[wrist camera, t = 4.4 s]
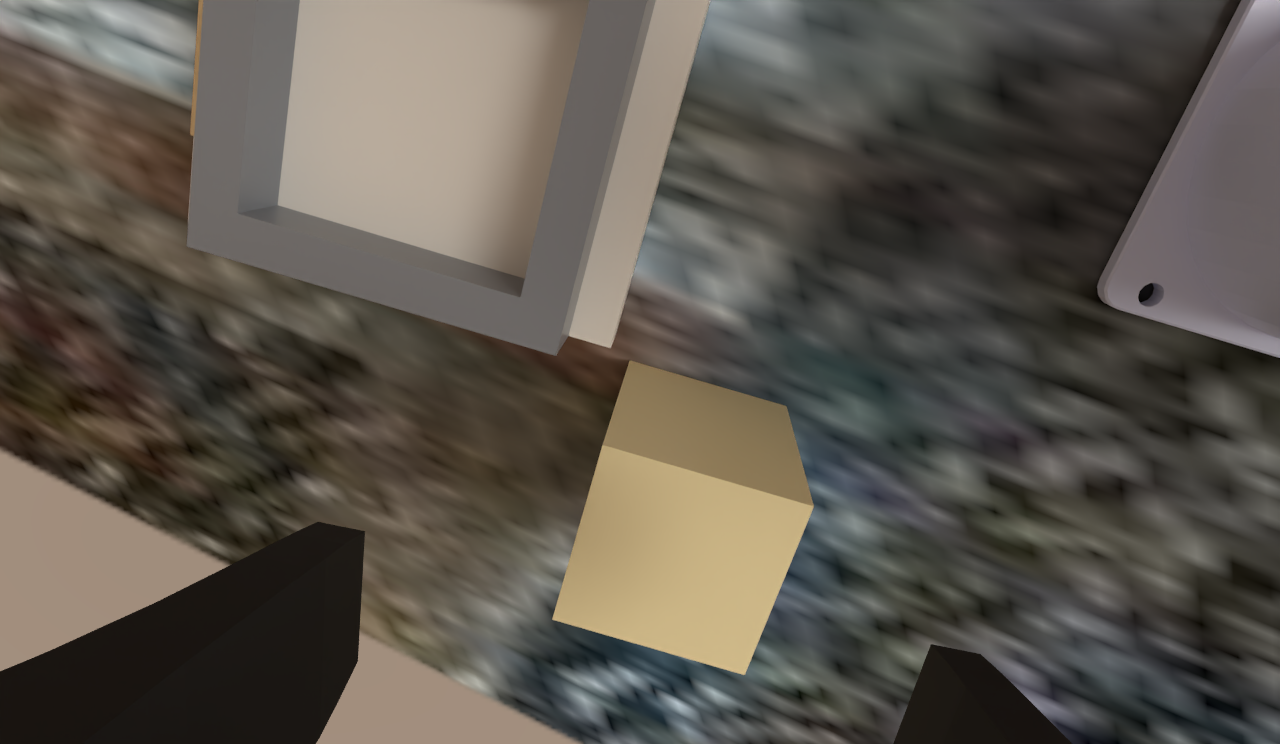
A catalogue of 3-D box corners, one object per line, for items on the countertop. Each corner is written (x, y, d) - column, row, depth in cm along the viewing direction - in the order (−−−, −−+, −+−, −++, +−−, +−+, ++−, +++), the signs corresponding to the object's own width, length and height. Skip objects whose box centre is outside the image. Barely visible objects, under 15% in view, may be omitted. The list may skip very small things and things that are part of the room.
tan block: (786, 405, 18) (813, 506, 13) (735, 540, 19) (744, 675, 15) (629, 359, 18) (602, 444, 13) (589, 497, 19) (552, 619, 15)
